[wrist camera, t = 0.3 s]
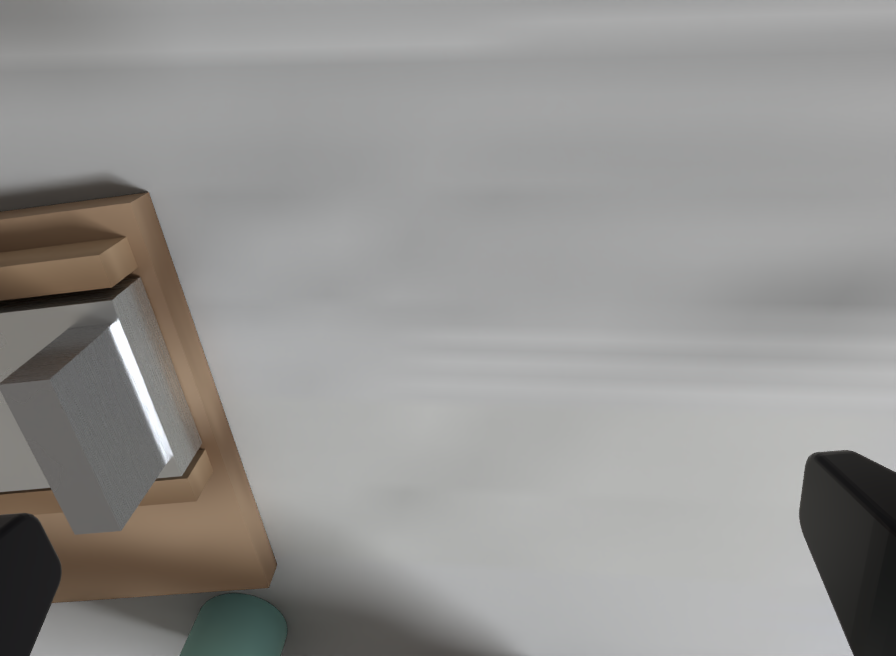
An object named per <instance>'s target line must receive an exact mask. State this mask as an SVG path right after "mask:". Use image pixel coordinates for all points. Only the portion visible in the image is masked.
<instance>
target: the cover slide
mask: <svg viewBox="0 0 896 656" xmlns="http://www.w3.org/2000/svg"><path fill="white" fill-rule="evenodd" d="M201 444H202V441H201V439H200V436H199V433H198V430H197V428H196V425H195V422H194V420H193V417H192V414H191V412H190V409H189V406H188V404H187V401H186V398H185V396H184V393H183V390H182V387H181V385H180V382H179V379H178V377H177V374H176V371H175V369H174V366H173V363H172V361H171V358H170V355H169V352H168V350H167V347H166V344H165V342H164V339H163V336H162V334H161V331H160V328H159V326H158V323H157V320H156V318H155V315H154V312H153V309H152V307H151V304H150V301H149V299H148V296H147V293H146V291H145V288H144V285H143V283H142V280H141V277H135V278H127V279H122V280H121V281H120V282H118V283H117V284H116V285H115V286H113V287H112V288H103V289H95V290H86V291H78V292H69V293H61V294H52V295H44V296H35V297H27V298H18V299H10V300H1V301H0V492H7V491H19V490H30V489H42V488H51V490H52V492H53V494H54V496H55V498H56V499H57V501H58V503H59V505H60V507H61V509H62V511H63V513H64V515H65V517H66V519H67V521H68V523H69V525H70V527H71V528H72V530H73V532H74V534H75V535H78V534H90V533H103V532H115V531H122V529H123V528H124V526H125V525H126V523H127V522H128V520H129V519H130V517H131V516H132V514H133V513H134V511H135V510H136V508H137V507H138V505H139V504H140V502H141V501H142V499H143V498H144V496H145V495H146V493H147V492H148V490H149V489H150V488H151V486H152V485H153V483H154V482H155V480H156V479H157V478H167V477H178V476H182V475H183V473H184V472H185V470H186V469H187V467H188V465H189V464H190V462H191V461H192V459H193V457H194V456H195V454H196V452H197V451H198V449H199V448H200V446H201Z"/></svg>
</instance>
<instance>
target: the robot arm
mask: <svg viewBox="0 0 896 656" xmlns="http://www.w3.org/2000/svg"><path fill="white" fill-rule="evenodd" d="M799 519H800V525H801V529H802V532H803V535H804V538H805V540H806V542H807V545H808V547H809V550H810V552H811V554H812V557H813V559H814V562H815V564H816V567H817V569H818V571H819V574H820V576H821V579H822V581H823V583H824V586H825V588H826V591H827V593H828V595H829V598H830V600H831V603H832V605H833V607H834V610H835V612H836V615H837V617H838V619H839V622H840V624H841V627H842V629H843V631H844V634H845V636H846V639H847V641H848V643H849V646H850V648H851V650H852V652H853V655H854V656H896V472H894V471H892V470H890V469H888V468H886V467H884V466H882V465H880V464H878V463H876V462H874V461H872V460H870V459H868V458H866V457H864V456H862V455H860V454H858V453H856V452H853V451H849V450H841V451H828V452H816V453H813V454H812V455H810V456H809V457H808V459H807V461H806V465H805V471H804V479H803V486H802V494H801V501H800V509H799ZM61 576H62V567H61V562H60V559H59V557H58V555H57V553H56V552H55V550H54V548H53V546H52V544H51V542H50V540H49V538H48V536H47V534H46V532H45V530H44V528H43V526H42V524H41V522H40V521H39V519H38V518H36V517H35V516H34V515H32V514H29V513H16V514H3V515H0V656H30V653H31V651H32V649H33V646H34V644H35V641H36V639H37V637H38V634H39V632H40V630H41V627H42V625H43V622H44V620H45V618H46V615H47V613H48V610H49V608H50V606H51V603H52V601H53V599H54V596H55V594H56V591H57V589H58V587H59V584H60V581H61Z"/></svg>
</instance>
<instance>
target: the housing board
mask: <svg viewBox="0 0 896 656" xmlns="http://www.w3.org/2000/svg"><path fill="white" fill-rule="evenodd" d="M135 277H141V280H142V283H143V285H144V288H145V291H146V293H147V296H148V299H149V301H150V304H151V307H152V309H153V312H154V315H155V318H156V320H157V323H158V326H159V328H160V331H161V334H162V336H163V339H164V342H165V344H166V347H167V350H168V352H169V355H170V358H171V361H172V363H173V366H174V369H175V371H176V374H177V377H178V379H179V382H180V385H181V387H182V390H183V393H184V396H185V398H186V401H187V404H188V406H189V409H190V412H191V414H192V417H193V420H194V422H195V425H196V428H197V430H198V433H199V436H200V439H201V441H202V444H201V446H200V448H199V449H198V451H197V452H196V454H195V456H194V457H193V459H192V461H191V462H190V464H189V465H188V467H187V469H186V470H185V472H184V473H183V475H182V476H178V477H167V478H157V479H156V480H155V482H154V483H153V485H152V486H151V488H150V489H149V490H148V492H147V493H146V495H145V496H144V498H143V499H142V501H141V502H140V504H139V505H138V507H137V508H136V510H135V511H134V513H133V514H132V516H131V517H130V519H129V520H128V522H127V523H126V525H125V526H124V528H123V529H122V531H115V532H103V533H90V534H78V535H75V534H74V532H73V530H72V528H71V527H70V525H69V523H68V521H67V519H66V517H65V515H64V513H63V511H62V509H61V507H60V505H59V503H58V501H57V499H56V498H55V496H54V494H53V492H52V490H51V488H42V489H30V490H19V491H7V492H0V515H3V514H16V513H29V514H32V515H34V516H35V517H36V518H38V519H39V521H40V522H41V524H42V526H43V528H44V530H45V532H46V534H47V536H48V538H49V540H50V542H51V544H52V546H53V548H54V550H55V552H56V553H57V555H58V557H59V559H60V562H61V567H62V576H61V581H60V584H59V587H58V589H57V591H56V594H55V596H54V599H53V601H52V603H58V602H73V601H87V600H101V599H116V598H130V597H144V596H159V595H173V594H187V593H202V592H216V591H230V590H245V589H259V588H269V586H270V583H271V581H272V578H273V575H274V572H275V569H276V566H277V563H276V560H275V557H274V555H273V552H272V549H271V546H270V543H269V540H268V537H267V534H266V531H265V528H264V526H263V523H262V520H261V517H260V514H259V511H258V508H257V505H256V502H255V499H254V496H253V494H252V491H251V488H250V485H249V482H248V479H247V476H246V473H245V470H244V467H243V465H242V462H241V459H240V456H239V453H238V450H237V447H236V444H235V441H234V438H233V436H232V433H231V430H230V427H229V424H228V421H227V418H226V415H225V412H224V409H223V406H222V404H221V401H220V398H219V395H218V392H217V389H216V386H215V383H214V380H213V377H212V375H211V372H210V369H209V366H208V363H207V360H206V357H205V354H204V351H203V348H202V346H201V343H200V340H199V337H198V334H197V331H196V328H195V325H194V322H193V319H192V316H191V314H190V311H189V308H188V305H187V302H186V299H185V296H184V293H183V290H182V287H181V285H180V282H179V279H178V276H177V273H176V270H175V267H174V264H173V261H172V258H171V256H170V253H169V250H168V247H167V244H166V241H165V238H164V235H163V232H162V229H161V226H160V224H159V221H158V218H157V215H156V212H155V209H154V206H153V203H152V200H151V197H150V195H149V192H147V193H139V194H132V195H124V196H117V197H109V198H101V199H94V200H86V201H79V202H71V203H63V204H56V205H48V206H41V207H33V208H25V209H18V210H10V211H3V212H0V301H1V300H10V299H18V298H27V297H35V296H44V295H52V294H61V293H69V292H78V291H86V290H95V289H103V288H112V287H113V286H115V285H116V284H117V283H118V282H120V281H121V280H122V279H127V278H135Z"/></svg>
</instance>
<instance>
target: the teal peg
mask: <svg viewBox="0 0 896 656" xmlns="http://www.w3.org/2000/svg"><path fill="white" fill-rule="evenodd" d="M286 636H287V624H286V621H285V619H284V617H283V615H282V614H281V613H280V612H279V611H278V610H277V609H276V608H275V607H274V606H273V605H271V604H270V603H268V602H266V601H265V600H262V599H260V598H258V597H255V596H251V595H247V594H238V593H230V594H223V595H219V596H216V597H214V598H212V599H210V600H209V601H207V602H206V603H205V604H204V605H203V606H202V608H201V610H200V612H199V614H198V616H197V619H196V621H195V623H194V625H193V627H192V630H191V632H190V634H189V636H188V638H187V641H186V643H185V645H184V647H183V649H182V652H181V654H180V656H281V653H282V649H283V646H284V643H285V639H286Z"/></svg>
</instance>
